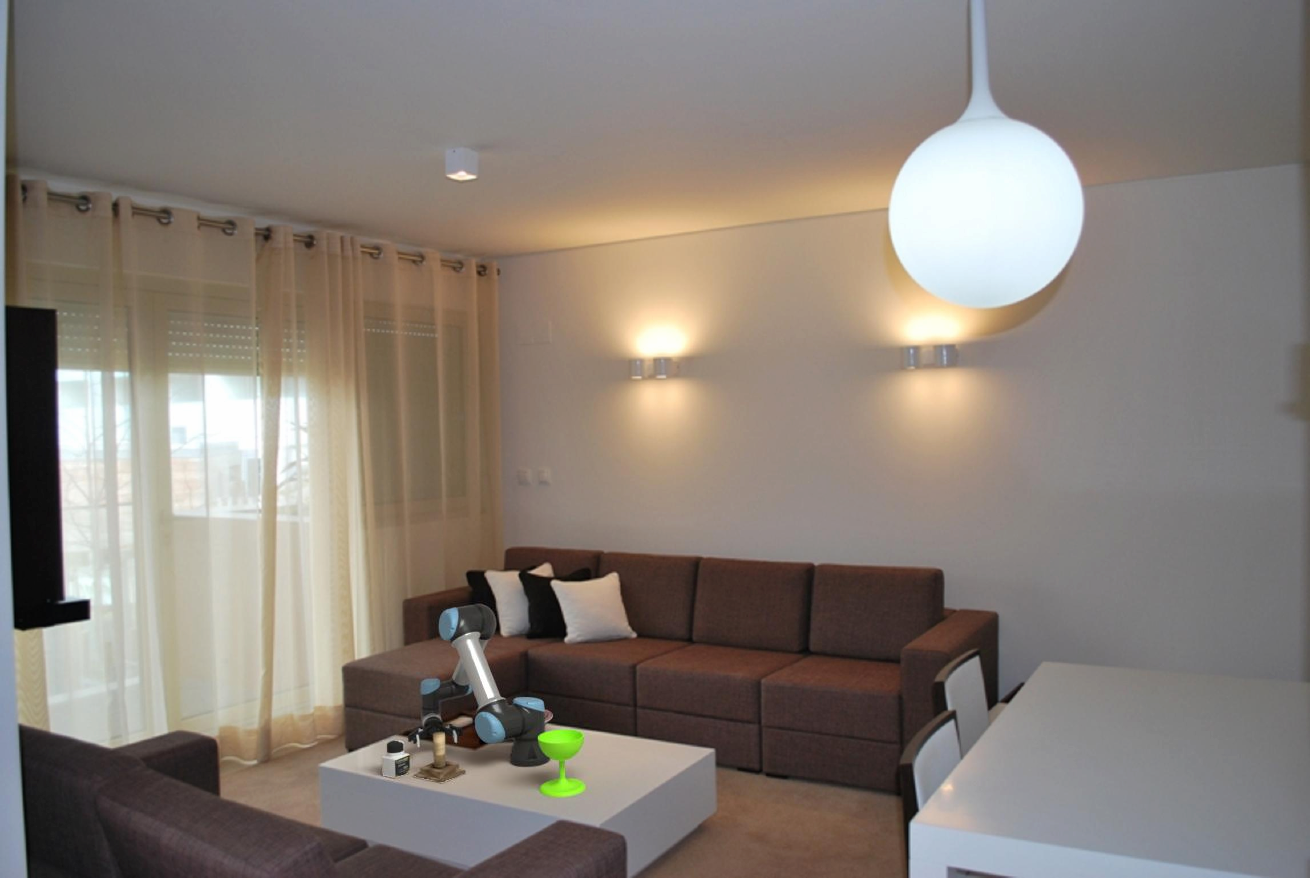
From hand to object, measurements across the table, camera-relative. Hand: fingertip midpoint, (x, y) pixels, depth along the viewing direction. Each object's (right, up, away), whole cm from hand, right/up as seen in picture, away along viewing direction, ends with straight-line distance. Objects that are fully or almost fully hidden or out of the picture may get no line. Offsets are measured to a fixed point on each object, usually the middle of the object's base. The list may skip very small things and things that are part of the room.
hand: (437, 741), depth 358 cm
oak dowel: (+3, -8, -9) cm, 13 cm away
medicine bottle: (-13, -10, -7) cm, 18 cm away
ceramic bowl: (+25, -9, +35) cm, 44 cm away
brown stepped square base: (+3, -9, -9) cm, 13 cm away
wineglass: (+49, -8, -26) cm, 56 cm away
